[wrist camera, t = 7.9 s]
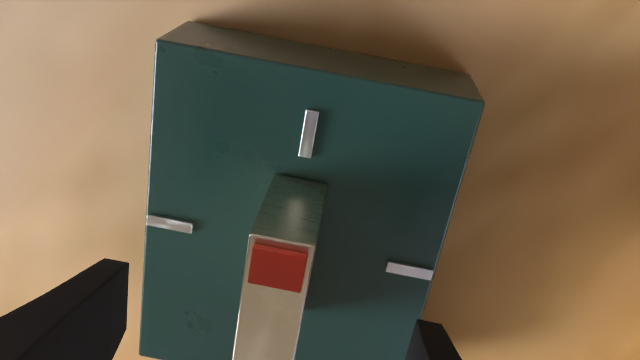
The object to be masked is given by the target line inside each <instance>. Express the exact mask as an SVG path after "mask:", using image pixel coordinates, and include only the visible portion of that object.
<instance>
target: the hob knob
mask: <svg viewBox="0 0 640 360" xmlns="http://www.w3.org/2000/svg"><path fill="white" fill-rule="evenodd" d="M327 188H328V185H327V184H324V183H319V182H314V181H308V180H303V179H298V178H293V177H288V176H283V175H277V174H274V175H273V177H272V180H271V182H270V185H269V187H268V190H267V192H266V195H265V197H264V200H263V202H262V204H261V207H260V209H259V212H258V214H257V217H256V219H255V222H254V224H253V227H252V229H251V232H250V234H249V240H248V247H247V254H246V261H245V269H244V276H243V283H242V291H241V298H240V305H239V312H238V320H237V327H236V334H235V341H234V349H233V356H232V360H294V359H295V354H296V349H297V343H298V338H299V333H300V328H301V323H302V318H303V312H304V307H305V302H306V297H307V292H308V287H309V281H310V276H311V271H312V266H313V261H314V256H315V250H316V245H317V240H318V235H319V230H320V224H321V219H322V214H323V209H324V204H325V199H326V193H327Z"/></svg>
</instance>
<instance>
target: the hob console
mask: <svg viewBox="0 0 640 360" xmlns="http://www.w3.org/2000/svg"><path fill="white" fill-rule="evenodd" d="M484 105H485V102H484V100H483V98H482V96H481V94H480V93H479V91H478V89H477V87H476V85H475V83H474V81H473V80H472V78H471V76H470V75H469V74H465V73H460V72H454V71H449V70H444V69H439V68H433V67H428V66H423V65H418V64H412V63H407V62H402V61H397V60H391V59H386V58H381V57H376V56H370V55H365V54H360V53H355V52H349V51H344V50H339V49H333V48H328V47H323V46H318V45H312V44H307V43H302V42H297V41H291V40H286V39H281V38H276V37H270V36H265V35H260V34H255V33H249V32H244V31H239V30H234V29H228V28H223V27H218V26H212V25H207V24H202V23H197V22H191V21H188V22H186V23H184V24H182V25H180V26H179V27H177V28H175V29H174V30H172V31H170V32H168V33H167V34H165V35H163V36H161V37H160V38H158V39H157V40H156V44H155V63H154V81H153V100H152V118H151V137H150V155H149V174H148V193H147V211H146V230H145V248H144V267H143V286H142V304H141V323H140V341H139V355H141V356H146V357H151V358H156V359H161V360H232V356H233V349H234V341H235V334H236V327H237V320H238V312H239V305H240V298H241V291H242V283H243V276H244V269H245V261H246V254H247V247H248V240H249V234H250V232H251V229H252V227H253V224H254V222H255V219H256V217H257V214H258V212H259V209H260V207H261V204H262V202H263V200H264V197H265V195H266V192H267V190H268V187H269V185H270V182H271V180H272V177H273V175H274V174H277V175H283V176H288V177H293V178H298V179H303V180H308V181H314V182H319V183H324V184H327V185H328V188H327V193H326V199H325V204H324V209H323V214H322V219H321V224H320V230H319V235H318V240H317V245H316V250H315V256H314V261H313V266H312V271H311V276H310V281H309V287H308V292H307V297H306V302H305V307H304V312H303V318H302V323H301V328H300V333H299V338H298V343H297V349H296V354H295V359H294V360H405V357H406V353H407V350H408V347H409V343H410V340H411V336H412V333H413V330H414V326H415V323H416V319H419V320H421V317H422V314H423V311H424V307H425V304H426V301H427V297H428V294H429V290H430V287H431V284H432V280H433V277H434V274H435V270H436V267H437V263H438V260H439V257H440V253H441V250H442V247H443V243H444V240H445V236H446V233H447V230H448V226H449V223H450V219H451V216H452V213H453V209H454V206H455V203H456V199H457V196H458V192H459V189H460V186H461V182H462V179H463V176H464V172H465V169H466V165H467V162H468V159H469V155H470V152H471V149H472V145H473V142H474V138H475V135H476V132H477V128H478V125H479V122H480V118H481V115H482V111H483V108H484Z"/></svg>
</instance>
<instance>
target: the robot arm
mask: <svg viewBox="0 0 640 360" xmlns="http://www.w3.org/2000/svg"><path fill="white" fill-rule="evenodd" d="M128 273H129V263H127V262H121V261H116V260H111V259H106V258H104V259H103V260H101V261H99V262H97V263H96V264H94V265H92V266H91V267H89V268H87V269H86V270H84V271H82V272H81V273H79V274H78V275H76V276H74V277H73V278H71V279H69V280H68V281H66V282H64V283H63V284H61V285H59V286H57V287H56V288H54V289H52V290H51V291H49V292H47V293H45V294H44V295H42V296H40V297H38V298H36V299H34V300H33V301H31V302H29V303H27V304H25V305H23V306H21V307H19V308H17V309H15V310H13V311H12V312H10V313H8V314H6V315H4V316H2V317H0V360H112V359H113V357H114V355H115V353H116V350H117V348H118V346H119V344H120V342H121V339H122V337H123V335H124V333H125V331H126V322H127V297H128ZM405 360H462V359H461V357H460V356H459V354H458V352H457V350H456V349H455V347H454V345H453V343H452V342H451V340H450V338H449V336H448V334H447V333H446V331H445V329H444V327H443V326H442V324H439V323H434V322H429V321H424V320H419V319H416V323H415V326H414V330H413V333H412V336H411V340H410V343H409V347H408V350H407V353H406V357H405Z"/></svg>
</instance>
